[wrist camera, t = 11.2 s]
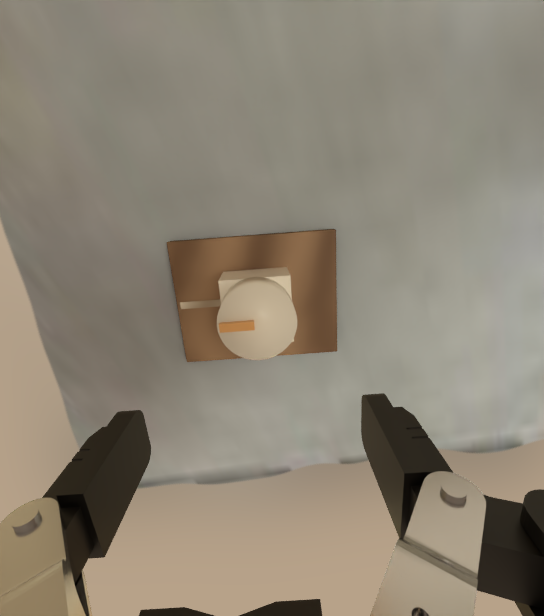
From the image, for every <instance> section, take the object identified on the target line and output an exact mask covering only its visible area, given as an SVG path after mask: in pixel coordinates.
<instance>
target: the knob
mask: <svg viewBox="0 0 544 616" xmlns="http://www.w3.org/2000/svg"><path fill="white" fill-rule="evenodd" d="M218 283H219V291H220V299H221V306H220V309H219V311H218V315H217V329H218V333H219V336H220V338H221V340H222V342H223V343H224V345H225V346H226V347H227V348H228V349H229V350H230V351H231V352H233V353H234V354H236V355H238V356H240V357H243V358H245V359H250V360H264V359H268V358H272V357H274V356H276V355H278V354H280V353H281V352H283V351H284V350H285V349H286V348H287V347H288V346H289V345H290V343H291V342H294V336H295V333H296V330H297V315H296V311H295V308H294V305H293V302H292V294H291V276H290V273H289V271H288V269H287V267H280V268H267V269H254V270H241V271H228V272H223V273H222V275H221V277H220V279H219V280H218Z"/></svg>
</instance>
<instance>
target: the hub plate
mask: <svg viewBox="0 0 544 616" xmlns="http://www.w3.org/2000/svg"><path fill="white" fill-rule="evenodd" d="M167 247H168V253H169V259H170V265H171V271H172V277H173V283H174V289H175V294H176V300H177V306H178V312H179V318H180V324H181V330H182V336H183V341H184V347H185V353H186V359H187V362H194V361H208V360H222V359H236V358H243V357H240V356H238V355H236V354H234V353H233V352H231V351H230V350H229V349H228V348H227V347H226V346H225V345H224V343H223V342H222V340H221V338H220V336H219V333H218V329H217V315H218V311H219V309H220V306H221V299H220V291H219V283H218V280H219V279H220V277H221V275H222V273H223V272H228V271H241V270H254V269H267V268H280V267H287V269H288V271H289V273H290V276H291V294H292V302H293V305H294V308H295V311H296V315H297V330H296V333H295V336H294V342H291V343H290V345H289V346H288V347H287V348H286V349H285V350H284V351H283V352H281V353H280V354H278V355H292V354H306V353H319V352H333V351H337V297H336V230H335V229H327V230H314V231H301V232H287V233H274V234H260V235H247V236H234V237H220V238H207V239H194V240H180V241H170V242H167ZM278 355H276V356H278Z"/></svg>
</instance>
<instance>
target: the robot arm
mask: <svg viewBox="0 0 544 616" xmlns="http://www.w3.org/2000/svg"><path fill="white" fill-rule="evenodd" d="M361 433H362V441H363V445H364V449H365V452H366V454H367V457H368V459H369V462H370V464H371V467H372V469H373V472H374V475H375V477H376V480H377V482H378V485H379V487H380V490H381V492H382V495H383V498H384V500H385V503H386V505H387V508H388V510H389V513H390V515H391V518H392V520H393V523H394V525H395V528H396V531H397V533H398V536H399V540H398V541H397V543H396V546H395V548H394V551H393V554H392V557H391V560H390V562H389V565H388V568H387V571H386V573H385V576H384V579H383V582H382V584H381V587H380V590H379V593H378V595H377V598H376V601H375V604H374V606H373V609H372V612H371V615H370V616H474V609H475V601H476V593H477V590H478V591H481V592H485V593H488V594H492V595H495V596H499V597H502V598H505V599H509V600H512V601H515V603H516V605H517V607H518V608H519V610H520V612H521V614H522V615H523V616H544V490H533V491H530V492H528V493H527V494H526V495H525V498H524V502H523V504H522V503H517V502H512V501H507V500H502V499H497V498H493V497H488V496H486V495H483V494H482V492H481V491H480V490H479V489H478V487H477V486H476V485H474V484H473V483H472V482H470V481H469V480H468V479H466V478H464V477H462V476H460V475H458V474H455V473H453V471H452V470H451V469H450V467H449V466H448V464H447V463H446V461H445V460H444V458H443V457H442V455H441V454H440V453H439V451H438V450H437V448H436V447H435V445H434V444H433V442H432V441H431V440H430V438H428V435H427V434H426V432H425V431H424V429H422V426H421V425H420V424H419V422H418V421H417V419H416V418H415V416H414V415H412V414H411V413H410V412H408V411H407V410H405V409H404V408H403V407H393V406H392V405H391V403H390V401H389V400H388V398H387V396H386V395H385V394H384V393H383V394H369V395H363V396H362V417H361ZM150 455H151V445H150V441H149V436H148V432H147V428H146V424H145V419H144V415H143V413H142V411H140V410H135V411H121V412H118V413H116V415H115V416H114V417H113V419H112V420H111V421H110V423H109V424H108V425H107V427H102V428H101V429H99V430H98V431H97V432H96V433H94V434H93V435H92V436H90V437H89V438H88V439H87V441H86V442H85V443H84V445H83V446H82V447H81V448H80V451H79V452H77V454H76V455H75V456H74V458H73V459H72V462H70V463H69V464H68V465H67V466H66V468H65V469H64V470H63V472H62V473H61V474H60V476H59V477H58V478H57V479H56V481H55V482H54V483H53V484H52V486H51V487H50V488H49V490H48V491H47V492H46V493H45V495H44V496H43V497H42V498H40V499H36V500H33V501H31V502H28V503H26V504H24V505H22V506H20V507H19V508H17V509H16V510H14V511H13V512H12V513H10V514H9V515H8V516H7V517H6V518H5V519H4V520H3V521H2V522H1V523H0V616H92V612H91V607H90V602H89V596H88V591H87V586H86V581H85V575H84V573H83V570H82V569H83V568H84V566H85V563H86V562H87V560H88V558H101V557H105V555H106V553H107V551H108V549H109V546H110V544H111V542H112V540H113V538H114V536H115V534H116V532H117V529H118V527H119V525H120V523H121V521H122V519H123V517H124V514H125V512H126V510H127V508H128V506H129V504H130V502H131V500H132V497H133V495H134V493H135V491H136V489H137V487H138V485H139V483H140V480H141V478H142V476H143V474H144V472H145V470H146V468H147V465H148V463H149V460H150ZM139 616H214V615H210V614H206V613H203V612H199V611H196V610H192V609H189V608H185V607H183V608H167V609H150V610H141V612H140V615H139ZM240 616H322V611H321V603H320V599H313V600H297V601H281V602H274V603H272V604H269V605H266V606H263V607H261V608H258V609H255V610H253V611H250V612H248V613H245V614H242V615H240Z"/></svg>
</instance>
